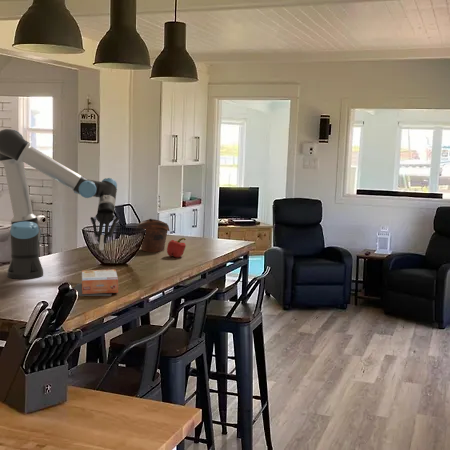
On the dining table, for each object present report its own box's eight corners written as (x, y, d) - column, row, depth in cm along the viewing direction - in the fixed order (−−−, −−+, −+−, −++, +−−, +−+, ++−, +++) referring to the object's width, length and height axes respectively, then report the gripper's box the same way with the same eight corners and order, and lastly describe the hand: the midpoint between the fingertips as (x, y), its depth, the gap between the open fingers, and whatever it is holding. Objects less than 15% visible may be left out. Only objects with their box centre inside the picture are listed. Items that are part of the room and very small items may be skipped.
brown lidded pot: (151, 246, 369) (151, 215, 367) (176, 250, 357) (176, 219, 354) (128, 250, 356) (128, 218, 353) (153, 254, 343) (153, 221, 341)
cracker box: (81, 284, 262) (81, 294, 242) (81, 270, 262) (81, 279, 241) (115, 283, 265) (118, 293, 245) (115, 269, 265) (118, 278, 245)
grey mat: (69, 295, 242) (69, 294, 242) (78, 284, 262) (78, 283, 262) (111, 295, 243) (111, 294, 243) (116, 284, 263) (116, 283, 263)
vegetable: (181, 254, 342) (181, 236, 341) (190, 257, 334) (190, 238, 332) (163, 256, 336) (163, 237, 335) (172, 259, 328) (172, 240, 327)
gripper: (91, 201, 286) (85, 243, 272) (119, 202, 287) (115, 243, 272) (93, 212, 292) (87, 253, 277) (121, 212, 293) (117, 253, 278)
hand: (101, 248), depth 275 cm, fingers closed
